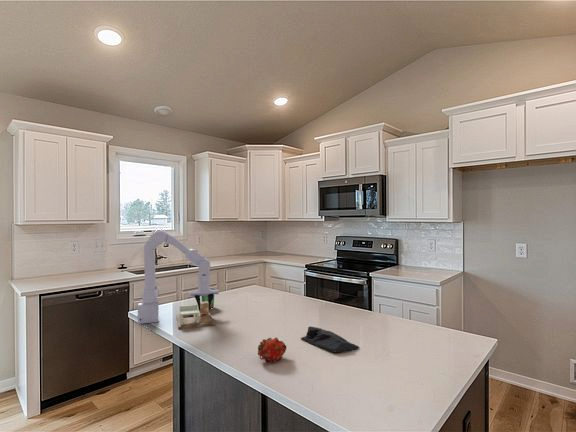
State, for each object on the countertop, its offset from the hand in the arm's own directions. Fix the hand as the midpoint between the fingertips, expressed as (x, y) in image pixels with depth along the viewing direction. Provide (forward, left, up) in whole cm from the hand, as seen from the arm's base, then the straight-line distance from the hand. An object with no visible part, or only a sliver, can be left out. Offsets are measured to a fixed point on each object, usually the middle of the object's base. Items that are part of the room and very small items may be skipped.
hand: (204, 309), depth 166 cm
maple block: (0, 0, -1) cm, 1 cm away
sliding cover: (-8, -10, -2) cm, 13 cm away
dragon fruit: (+16, -60, -4) cm, 62 cm away
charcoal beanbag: (+42, -54, -4) cm, 68 cm away
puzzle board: (-5, -5, -4) cm, 8 cm away
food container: (+5, +15, -4) cm, 16 cm away
